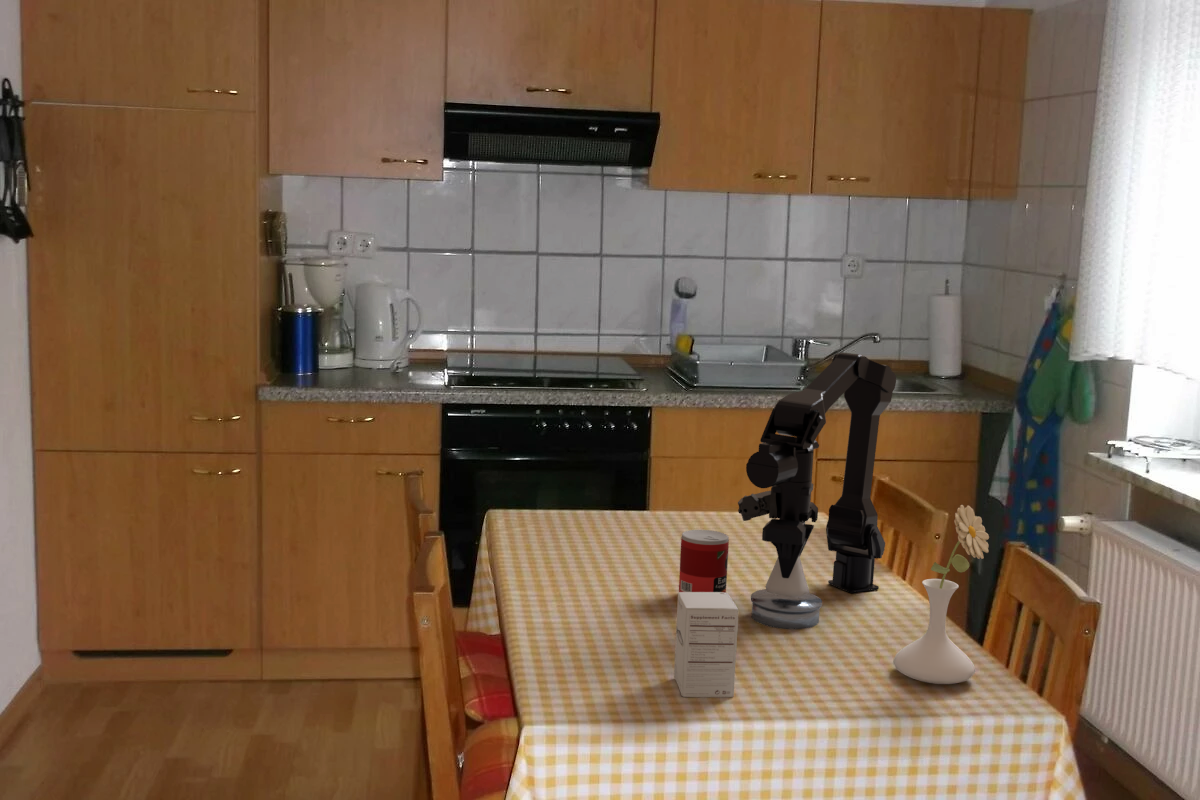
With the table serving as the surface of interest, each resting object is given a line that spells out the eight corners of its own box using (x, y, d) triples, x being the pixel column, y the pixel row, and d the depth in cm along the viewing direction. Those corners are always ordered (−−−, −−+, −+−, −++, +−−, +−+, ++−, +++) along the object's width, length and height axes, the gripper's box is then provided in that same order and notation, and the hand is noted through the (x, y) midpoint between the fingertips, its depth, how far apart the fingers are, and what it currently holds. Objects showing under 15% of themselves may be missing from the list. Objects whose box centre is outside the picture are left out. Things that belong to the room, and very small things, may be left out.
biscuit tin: (792, 605, 218) (794, 585, 217) (835, 626, 208) (836, 605, 207) (735, 613, 212) (737, 592, 212) (776, 634, 202) (777, 613, 202)
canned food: (723, 607, 215) (726, 542, 213) (675, 602, 216) (678, 538, 214) (728, 594, 222) (731, 531, 220) (681, 589, 223) (684, 527, 222)
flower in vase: (929, 696, 178) (943, 518, 175) (875, 669, 188) (888, 500, 185) (1000, 683, 184) (1015, 511, 181) (944, 657, 194) (957, 494, 191)
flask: (813, 588, 212) (817, 528, 210) (805, 600, 205) (809, 539, 203) (769, 582, 214) (773, 523, 212) (760, 594, 207) (763, 533, 206)
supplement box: (672, 678, 182) (676, 590, 180) (725, 678, 182) (729, 591, 180) (680, 698, 174) (684, 607, 172) (734, 698, 175) (739, 607, 173)
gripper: (754, 463, 218) (749, 553, 220) (732, 485, 200) (727, 583, 203) (821, 469, 215) (815, 561, 217) (804, 492, 197) (798, 591, 199)
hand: (788, 573), depth 209 cm, fingers closed on flask, 5 cm apart
